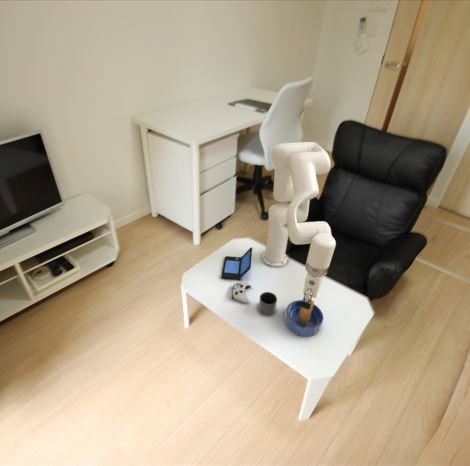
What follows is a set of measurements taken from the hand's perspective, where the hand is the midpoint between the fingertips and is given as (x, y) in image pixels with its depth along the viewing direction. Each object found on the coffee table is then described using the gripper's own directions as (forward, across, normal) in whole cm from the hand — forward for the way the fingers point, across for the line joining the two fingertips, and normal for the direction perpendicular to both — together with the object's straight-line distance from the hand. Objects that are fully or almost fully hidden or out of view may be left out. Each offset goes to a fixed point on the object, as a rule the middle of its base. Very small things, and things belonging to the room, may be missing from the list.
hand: (307, 298), depth 120 cm
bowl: (+14, -1, 0) cm, 14 cm away
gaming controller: (+14, +2, +28) cm, 31 cm away
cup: (+14, -1, +15) cm, 20 cm away
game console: (+15, +16, +36) cm, 42 cm away
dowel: (+13, -1, 0) cm, 13 cm away
